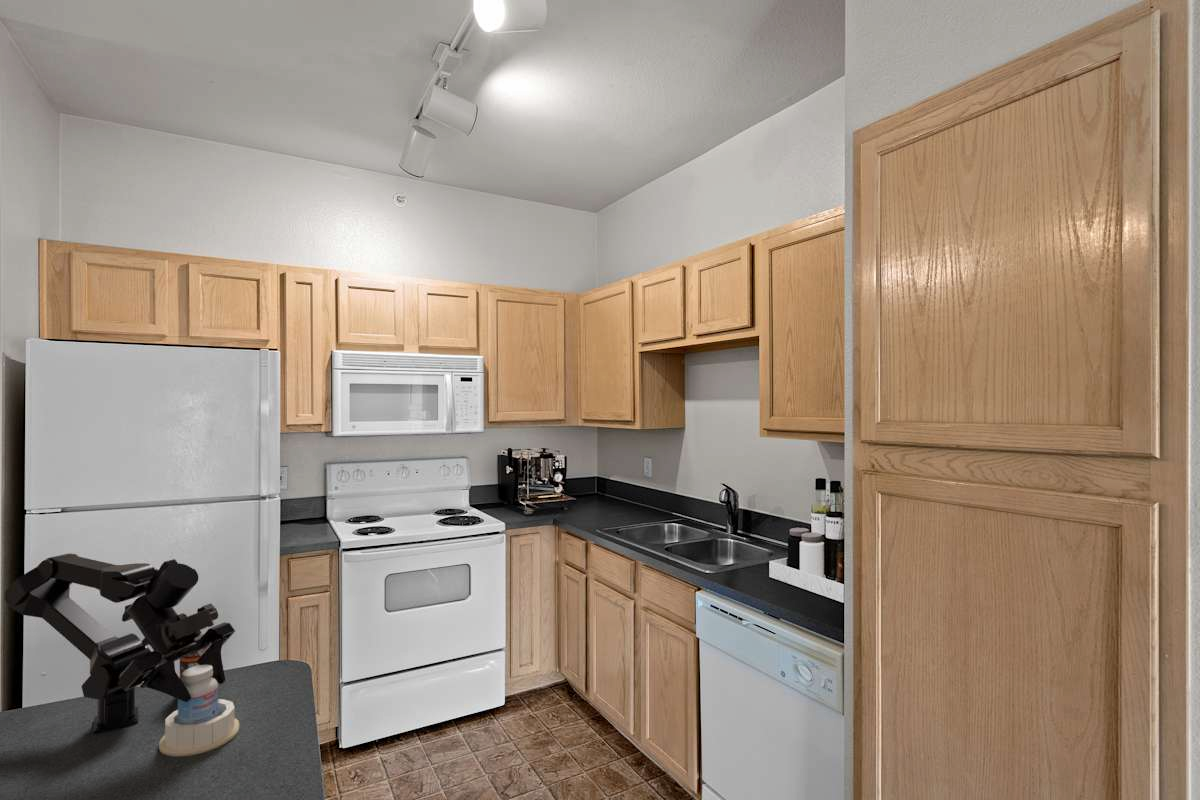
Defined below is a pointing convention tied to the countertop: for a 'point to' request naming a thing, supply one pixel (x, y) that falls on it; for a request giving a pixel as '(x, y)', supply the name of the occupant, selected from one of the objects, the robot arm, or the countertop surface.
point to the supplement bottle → (189, 660)
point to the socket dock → (199, 733)
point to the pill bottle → (199, 696)
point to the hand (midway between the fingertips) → (206, 691)
